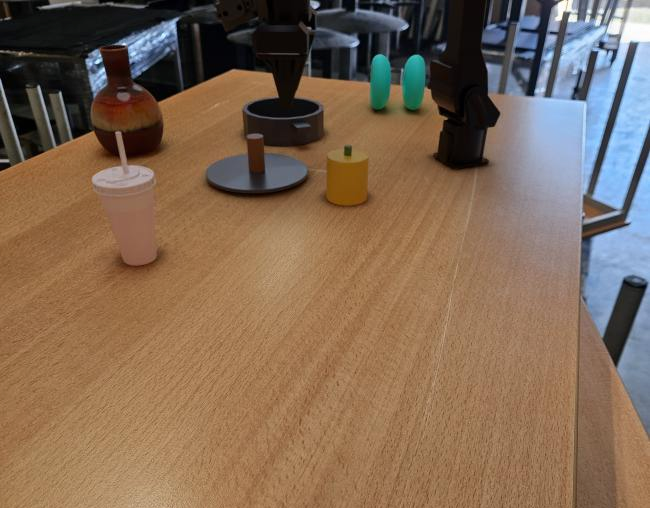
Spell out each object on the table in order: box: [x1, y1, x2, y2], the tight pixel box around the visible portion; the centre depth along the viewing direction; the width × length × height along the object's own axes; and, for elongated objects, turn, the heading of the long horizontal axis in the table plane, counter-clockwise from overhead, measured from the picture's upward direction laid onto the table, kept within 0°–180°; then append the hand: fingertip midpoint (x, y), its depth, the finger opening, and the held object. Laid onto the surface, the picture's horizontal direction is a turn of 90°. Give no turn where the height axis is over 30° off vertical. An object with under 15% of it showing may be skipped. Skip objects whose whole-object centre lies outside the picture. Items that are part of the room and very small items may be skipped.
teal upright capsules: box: [369, 53, 426, 111], centre depth 112 cm, size 10×10×10 cm
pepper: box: [325, 144, 370, 207], centre depth 77 cm, size 6×6×7 cm
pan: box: [241, 96, 325, 147], centre depth 101 cm, size 14×19×4 cm
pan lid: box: [205, 134, 309, 194], centre depth 83 cm, size 15×15×6 cm
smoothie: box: [91, 132, 158, 267], centre depth 61 cm, size 6×6×14 cm
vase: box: [89, 44, 164, 157], centre depth 90 cm, size 11×11×15 cm
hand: (290, 99), depth 76 cm, fingers open, 9 cm apart
